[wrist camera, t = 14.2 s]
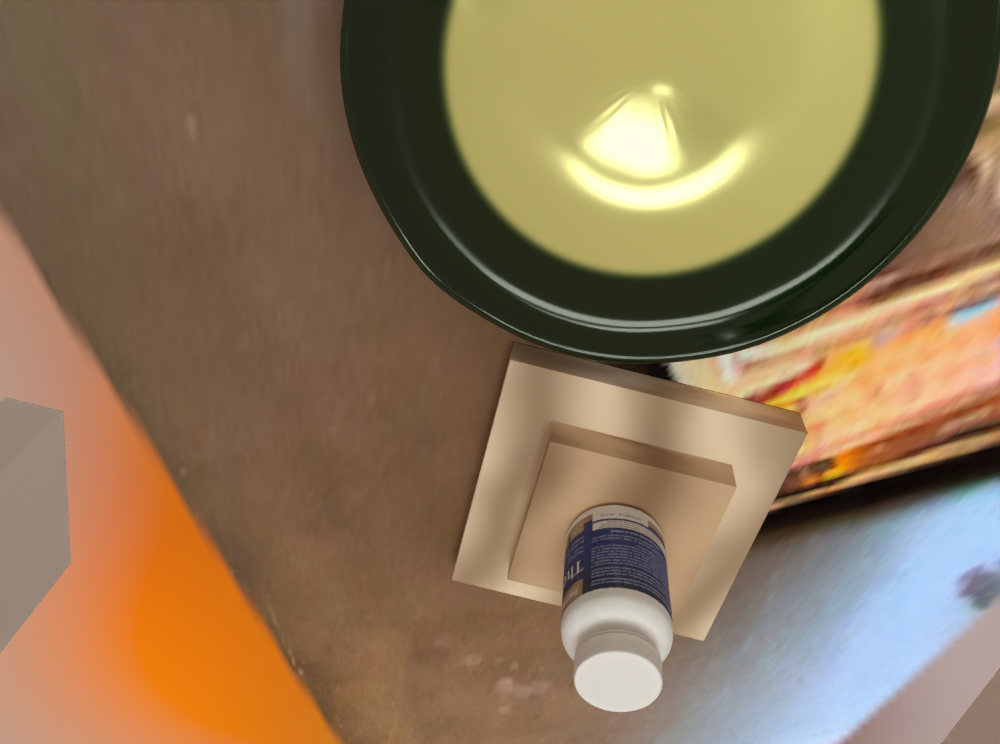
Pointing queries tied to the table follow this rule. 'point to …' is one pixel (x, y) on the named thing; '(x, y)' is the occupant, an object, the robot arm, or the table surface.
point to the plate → (662, 155)
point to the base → (640, 420)
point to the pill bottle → (616, 607)
